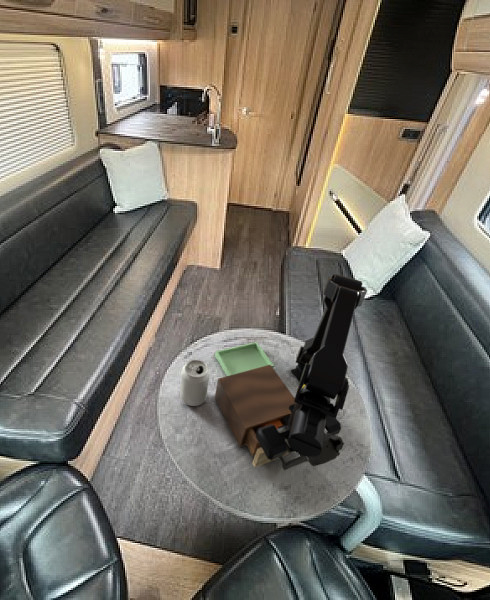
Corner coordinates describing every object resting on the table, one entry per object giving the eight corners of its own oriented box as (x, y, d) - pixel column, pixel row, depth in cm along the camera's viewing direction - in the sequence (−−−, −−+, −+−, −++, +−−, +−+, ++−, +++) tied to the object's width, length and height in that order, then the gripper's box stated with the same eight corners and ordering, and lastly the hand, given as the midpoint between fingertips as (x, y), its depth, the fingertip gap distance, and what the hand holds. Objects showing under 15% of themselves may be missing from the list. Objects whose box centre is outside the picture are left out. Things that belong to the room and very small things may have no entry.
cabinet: (294, 427, 86) (302, 408, 81) (239, 447, 80) (245, 428, 75) (264, 382, 97) (270, 364, 92) (214, 397, 91) (217, 378, 86)
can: (203, 410, 87) (207, 381, 80) (176, 404, 88) (178, 375, 81) (208, 389, 93) (213, 360, 86) (183, 383, 94) (186, 354, 87)
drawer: (318, 462, 78) (326, 448, 74) (263, 485, 72) (269, 472, 68) (276, 400, 91) (281, 386, 88) (227, 416, 86) (231, 401, 82)
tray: (255, 345, 110) (256, 341, 109) (272, 369, 102) (274, 365, 100) (214, 355, 104) (215, 351, 103) (230, 381, 96) (231, 377, 95)
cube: (272, 423, 84) (275, 413, 82) (280, 436, 81) (284, 427, 79) (258, 427, 82) (262, 418, 80) (267, 441, 80) (270, 432, 77)
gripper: (294, 463, 56) (274, 502, 65) (372, 431, 63) (344, 470, 72) (261, 411, 64) (248, 452, 73) (334, 387, 71) (313, 427, 80)
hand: (289, 451), depth 74 cm, fingers closed
